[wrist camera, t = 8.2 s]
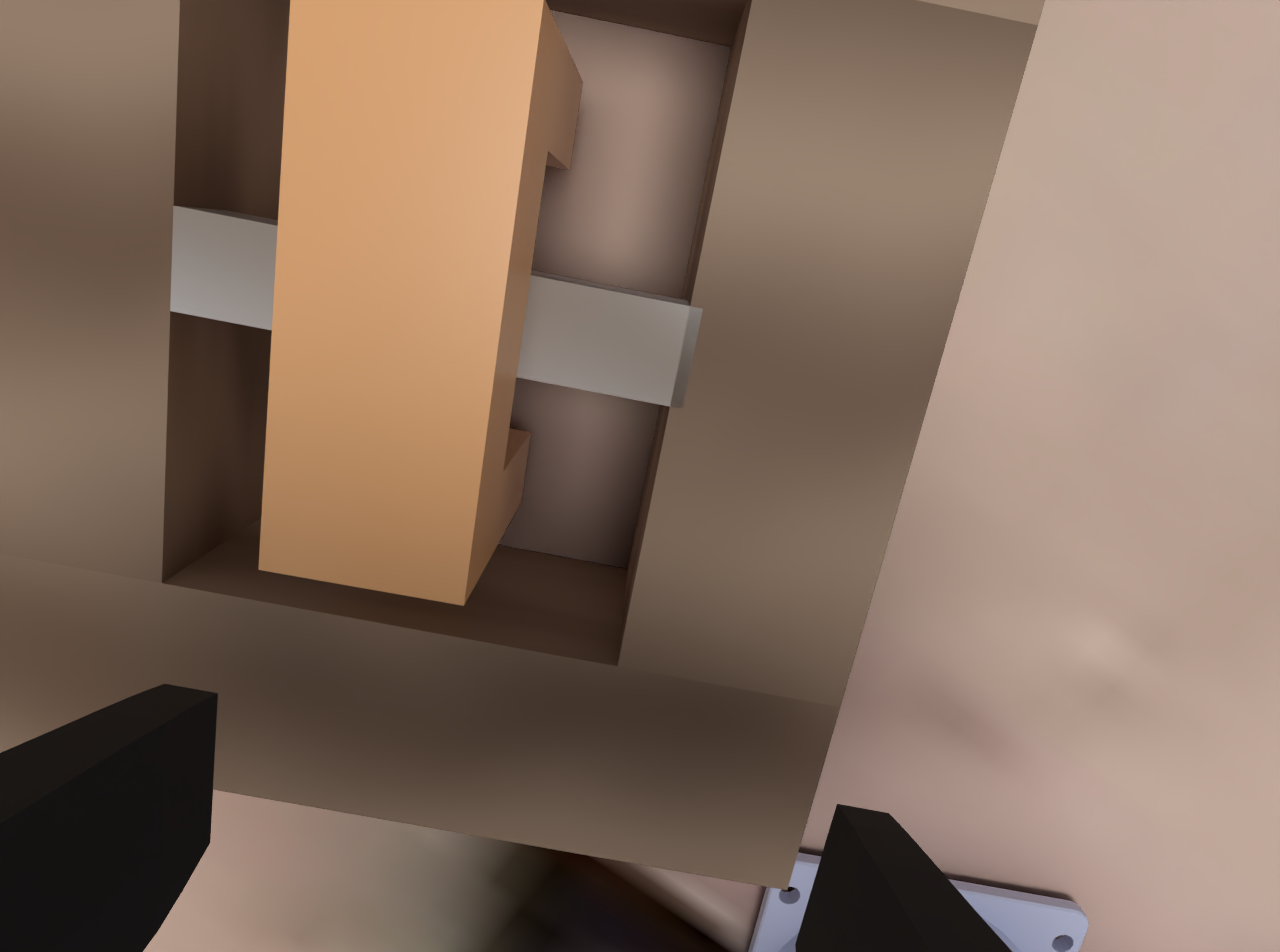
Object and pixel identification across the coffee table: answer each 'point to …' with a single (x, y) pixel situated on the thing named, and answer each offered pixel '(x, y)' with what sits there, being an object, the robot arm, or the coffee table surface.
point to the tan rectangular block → (406, 284)
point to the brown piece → (550, 352)
